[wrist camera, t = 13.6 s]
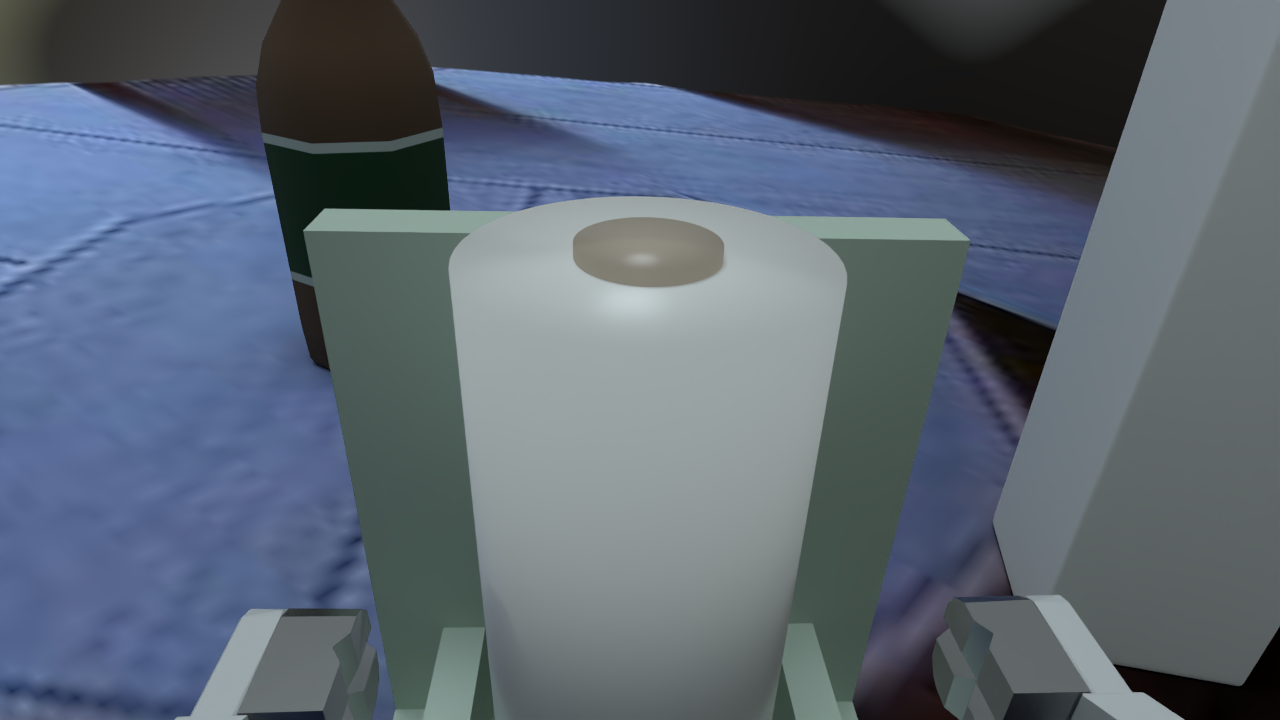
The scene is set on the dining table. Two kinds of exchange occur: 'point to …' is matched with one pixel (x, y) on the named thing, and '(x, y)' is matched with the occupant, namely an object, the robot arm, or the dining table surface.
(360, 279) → the holder
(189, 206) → the dining table surface
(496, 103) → the dining table surface
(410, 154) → the beer bottle
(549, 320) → the roll
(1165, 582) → the milk
